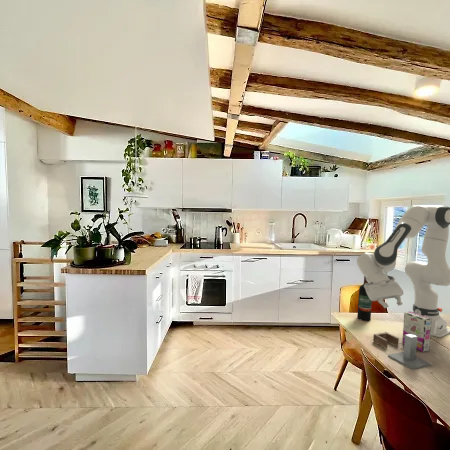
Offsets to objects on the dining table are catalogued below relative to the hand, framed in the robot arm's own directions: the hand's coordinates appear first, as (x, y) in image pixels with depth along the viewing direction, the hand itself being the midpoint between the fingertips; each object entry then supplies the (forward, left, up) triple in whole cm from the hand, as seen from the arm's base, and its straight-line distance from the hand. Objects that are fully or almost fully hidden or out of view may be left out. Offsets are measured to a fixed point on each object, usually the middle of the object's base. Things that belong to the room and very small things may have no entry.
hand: (393, 306), depth 147 cm
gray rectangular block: (+1, +11, -21) cm, 24 cm away
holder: (-3, -5, -22) cm, 22 cm away
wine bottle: (-19, -35, -22) cm, 45 cm away
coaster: (+1, +11, -22) cm, 24 cm away
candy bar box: (-15, +2, -22) cm, 26 cm away
